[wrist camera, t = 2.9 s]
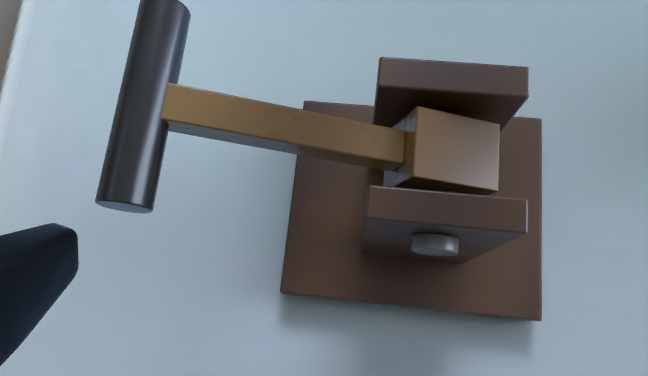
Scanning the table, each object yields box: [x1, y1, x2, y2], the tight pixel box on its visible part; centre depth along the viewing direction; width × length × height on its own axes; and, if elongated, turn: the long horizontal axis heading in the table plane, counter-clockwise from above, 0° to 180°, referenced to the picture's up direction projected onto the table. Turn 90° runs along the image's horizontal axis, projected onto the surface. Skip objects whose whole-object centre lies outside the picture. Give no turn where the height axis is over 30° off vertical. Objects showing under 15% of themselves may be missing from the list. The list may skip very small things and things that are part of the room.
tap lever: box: [95, 0, 500, 213], centre depth 15 cm, size 11×6×2 cm, turn 84°
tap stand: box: [280, 57, 542, 321], centre depth 19 cm, size 11×9×9 cm
